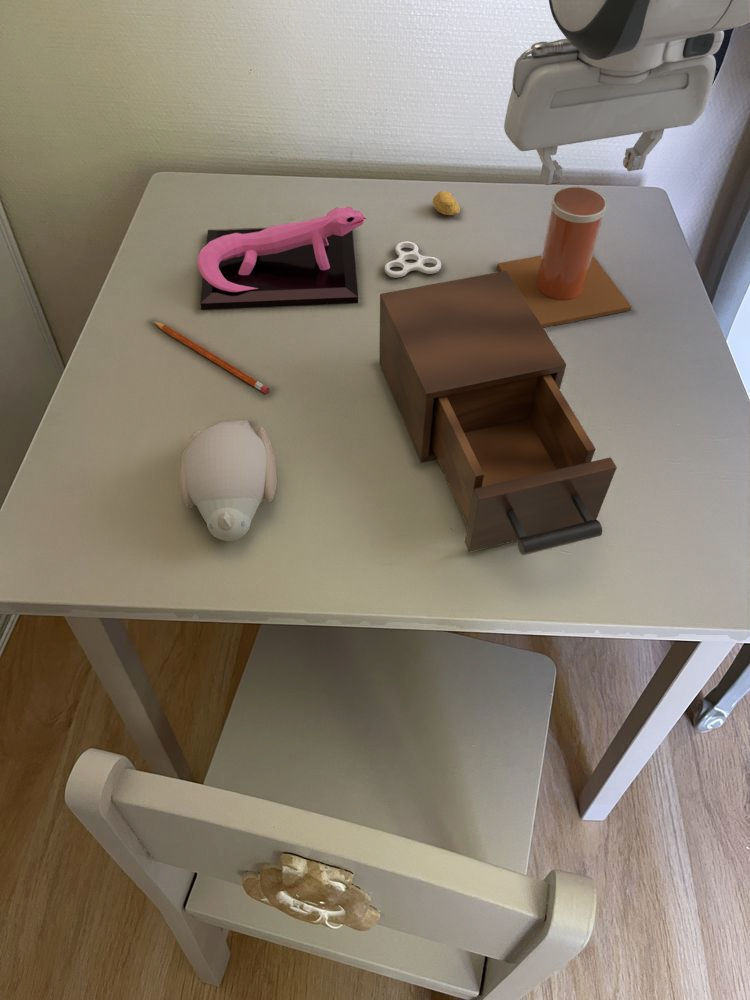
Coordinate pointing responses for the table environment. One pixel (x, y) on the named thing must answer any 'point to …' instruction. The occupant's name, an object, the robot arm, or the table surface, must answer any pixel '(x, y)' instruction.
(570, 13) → the robot arm
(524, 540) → the drawer
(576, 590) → the table surface
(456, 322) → the cabinet
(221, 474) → the decorative bird
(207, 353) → the pencil
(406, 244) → the fidget spinner
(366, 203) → the table surface
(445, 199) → the rock
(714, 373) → the table surface
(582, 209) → the tumbler
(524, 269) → the mat
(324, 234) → the dark display base
